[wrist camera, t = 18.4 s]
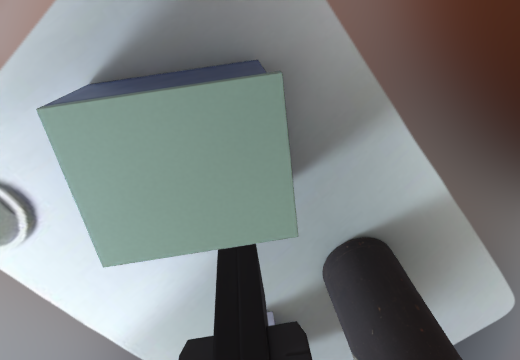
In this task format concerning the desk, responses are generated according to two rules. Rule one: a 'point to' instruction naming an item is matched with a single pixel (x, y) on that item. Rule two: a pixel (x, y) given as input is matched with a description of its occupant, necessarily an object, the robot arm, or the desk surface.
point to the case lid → (178, 167)
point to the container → (381, 306)
